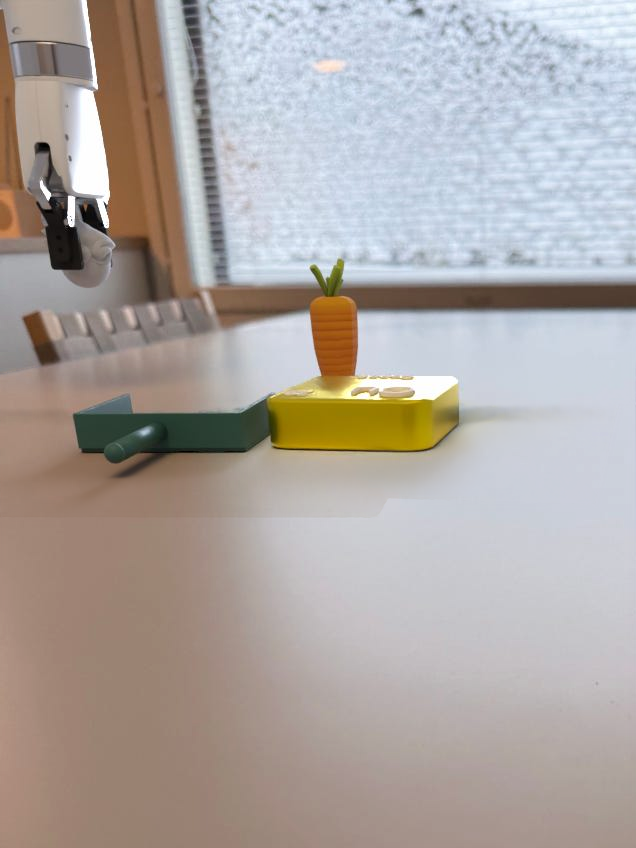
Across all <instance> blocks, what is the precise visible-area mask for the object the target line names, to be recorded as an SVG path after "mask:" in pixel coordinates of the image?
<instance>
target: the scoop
mask: <svg viewBox="0 0 636 848" xmlns="http://www.w3.org/2000/svg"><path fill="white" fill-rule="evenodd" d="M274 394H276V392H270V393H268V394H266V395H264V396H263V397H261V398H259V399H258V400H256V401H254V402H252V403H251V404H249V405H247V406H246V407H244V408H242V409H241V410H238V411H237V412H236V411H234V412H233V411H230V412H227V411H226V412H217V411H216V412H133V411H134V410H133V406H132V397H131V394H130V393H124V394H122V395H119V396H116V397H113V398H111V399H109V400H106V401H103V402H101V403H98V404H96V405H93V406H90V407H87V408H85V409H82V410H80V411H77V412H75V413H72V419H73V424H74V430H75V434H76V440H77V446H78V449H80V450H81V453H103V455H104V459H106V461H108V462H109V463H111V464H115V465H116V464H120V463H122V462H124V461H126V460H128V459H130V458H132V457H133V456H135V455H137V454H140V453H181V452H180V451H195V452H194V453H211V452H212V453H213V452H215V453H222V452H223V453H227V452H226V451H246V452H247V451H248V450H250V449H252V448H253V447H254V446H256V445H257V444H258V443H260V442H261V441H262V440H264V439H265V438H267V437H268V436H270V428H269V419H268V409H267V398H269V397H270V396H272V395H274ZM259 441H260V442H259ZM175 451H176V452H175ZM178 451H179V452H178ZM196 451H198V452H196ZM207 451H208V452H207ZM224 451H225V452H224Z"/></svg>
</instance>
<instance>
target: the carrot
mask: <svg viewBox="0 0 636 848" xmlns="http://www.w3.org/2000/svg"><path fill="white" fill-rule="evenodd" d="M309 270H310V272H311V273H312V275H313V276H314V277H315V279H316V281H317V283H318V285H319V287H320V289H321V290H322V292H323V294H324V295H322V296H318V297H315V298H314V299H313V300H312V301H311V303H310V305H309V317H310V326H311V327H310V328H311V337H312V342H313V349H314V354H315V357H316V362H317V365H318V369H319V372H320V376H356V371H357V369H356V368H357V361H358V353H359V352H358V351H359V327H358V326H359V323H358V308H357V304H356V302H355V301H354V299H352V298H351V297H349V296H345V295H339V291H340V289H341V287H342V285H343V283H344V279H343V274H344V270H345V260H344V259H342V258H337V261H336V264H333V267H332V269H331V272H330V275H329V276H326V278H324V276H323V273H322V272H321V269H320V268H319V266H318V265H316V264H311V265H310V266H309Z"/></svg>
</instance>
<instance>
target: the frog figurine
mask: <svg viewBox="0 0 636 848" xmlns="http://www.w3.org/2000/svg"><path fill="white" fill-rule="evenodd" d="M73 227H79V234H80V241H81V248H82V255H83V262H84V269H82V270H61V272H62V273H63V275H64V276H65V278H66V279H67V280H68V281H69V282H71V283H72V284H73V285H75V286H77V287H81V288H83V289H84V288H85V289H93V288H96V287H100V286H101V285H102V284H104V283H105V282H106V281H107V280H108V278H109V277H110V276H109V275H110V273H111V268H112V267H111V263H110V260H111V256H112V254H113V251H112V250H113V249H115V248H116V243H115V242H114V241H113V240H112V239H111V238H110V236H109V237H108V236H106V235H105V234H104V233H101V232H100V231H98V230H96V229H94V228H92V227H90V226H89V225H88V224H86V223H84V222H82V221H81V220H80V219H79V218H78V217H77V215H74V225H73ZM40 232H41V233H42V234H43V235H44V236H46V231H45V227H44V228H43V229H41V230H40ZM43 241H44V242H43V244H44V245H45V246H46V247H47V248H48V243H47V237H43Z"/></svg>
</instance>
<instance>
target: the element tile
mask: <svg viewBox="0 0 636 848" xmlns="http://www.w3.org/2000/svg"><path fill="white" fill-rule="evenodd" d="M459 397H460V395H459V381H458V379H456V378H455V377H453V376H414V375H399V374H398V375H395V374H394V375H392V374H389V375H387V374H384V375H381V374H374V375H373V374H371V375H368V374H361V375H358V374H355V376H321V375H319V376H315V377H312V378H310V379H308V380H306V381H303V382H300V383H298V384H296V385H293V386H291V387H289V388H286V389H283V390H281V391H280V392H277V393H275V394H274V395H272V396H270V397H269V398H267V409H268V419H269V428H270V434H269V437H270V443H271V446H273V447H274V448H278V449H289V450H332V451H333V450H337V451H339V450H340V451H379V452H380V451H381V452H382V451H385V452H414V451H415V452H416V451H424V450H428V449H431V448H434V447H435V445H437V444H438V443H439V442H440V441H441V440H442V439H443V438H444V437H445V436H446V435H448V434H449V432H451V431H452V430H453V429H454V428H455V427H456V426H457V425H458V424H459V422H460V399H459Z"/></svg>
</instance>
